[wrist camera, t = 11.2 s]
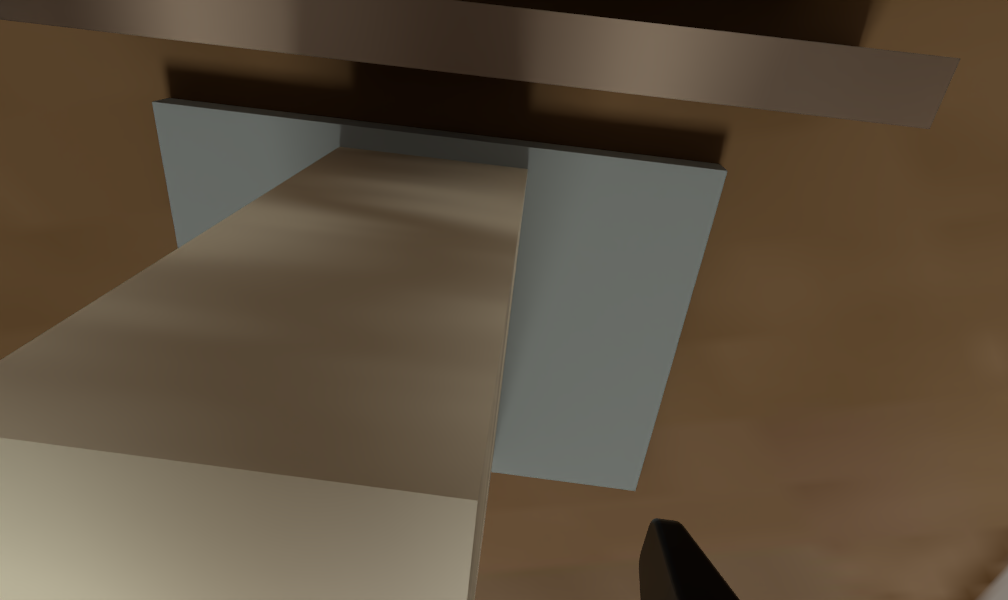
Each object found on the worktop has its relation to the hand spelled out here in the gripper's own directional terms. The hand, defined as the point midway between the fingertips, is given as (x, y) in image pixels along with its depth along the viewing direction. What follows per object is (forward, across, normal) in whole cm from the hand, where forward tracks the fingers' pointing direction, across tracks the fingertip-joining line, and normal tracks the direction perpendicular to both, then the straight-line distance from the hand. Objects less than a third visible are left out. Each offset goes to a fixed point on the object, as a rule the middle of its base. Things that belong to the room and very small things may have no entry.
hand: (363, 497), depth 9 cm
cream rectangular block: (+6, 0, 0) cm, 6 cm away
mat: (+6, 0, 0) cm, 6 cm away
